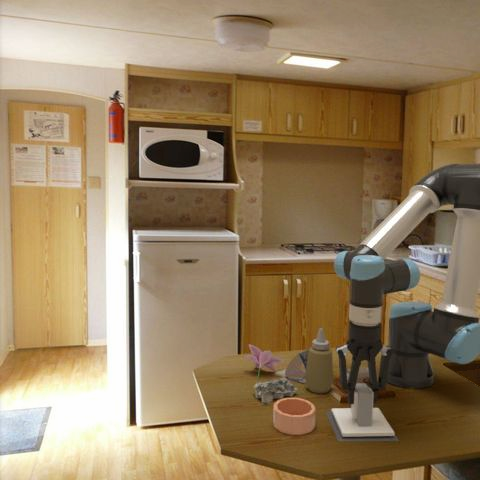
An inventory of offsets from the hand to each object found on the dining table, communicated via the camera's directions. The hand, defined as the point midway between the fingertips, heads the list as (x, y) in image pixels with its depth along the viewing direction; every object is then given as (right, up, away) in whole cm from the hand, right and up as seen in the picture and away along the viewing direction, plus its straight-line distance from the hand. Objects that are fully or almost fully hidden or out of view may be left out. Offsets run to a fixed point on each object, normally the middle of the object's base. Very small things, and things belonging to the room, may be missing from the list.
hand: (361, 415), depth 120 cm
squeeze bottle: (-7, 0, +21) cm, 22 cm away
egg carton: (-20, -1, +17) cm, 26 cm away
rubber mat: (0, -3, 0) cm, 3 cm away
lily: (-22, +1, +32) cm, 39 cm away
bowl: (-16, -3, +1) cm, 17 cm away
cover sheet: (0, -2, 0) cm, 2 cm away
